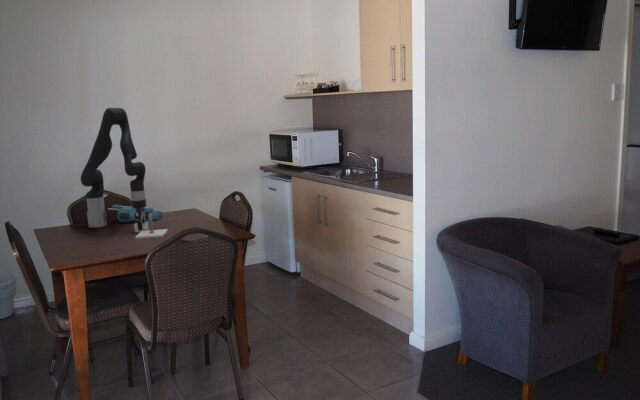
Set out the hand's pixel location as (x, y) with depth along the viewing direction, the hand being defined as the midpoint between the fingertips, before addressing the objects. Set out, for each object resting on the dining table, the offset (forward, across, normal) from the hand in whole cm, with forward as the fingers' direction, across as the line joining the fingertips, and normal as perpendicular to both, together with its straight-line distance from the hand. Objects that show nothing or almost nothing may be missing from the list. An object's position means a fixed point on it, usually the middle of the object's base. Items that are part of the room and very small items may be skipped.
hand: (141, 228), depth 312 cm
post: (+1, +12, +8) cm, 14 cm away
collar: (+1, 0, 0) cm, 1 cm away
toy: (+2, -34, -11) cm, 36 cm away
